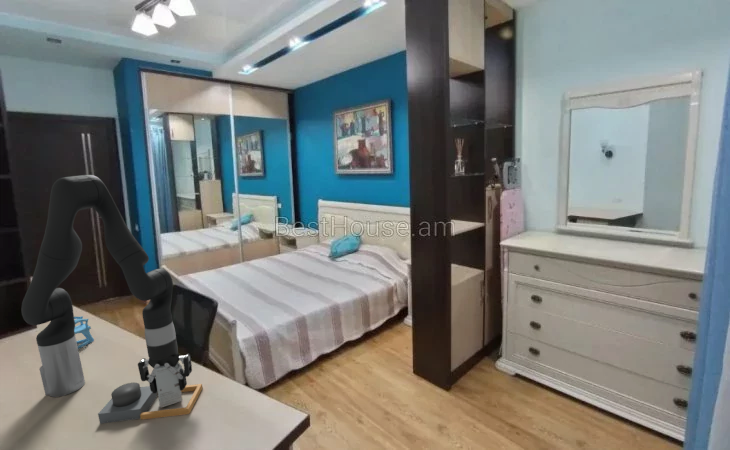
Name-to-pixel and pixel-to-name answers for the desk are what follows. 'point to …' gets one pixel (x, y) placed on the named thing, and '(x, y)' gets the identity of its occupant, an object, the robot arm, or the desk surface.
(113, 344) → the desk surface
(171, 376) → the skincare box
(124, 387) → the dome slab with frame
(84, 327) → the chair
